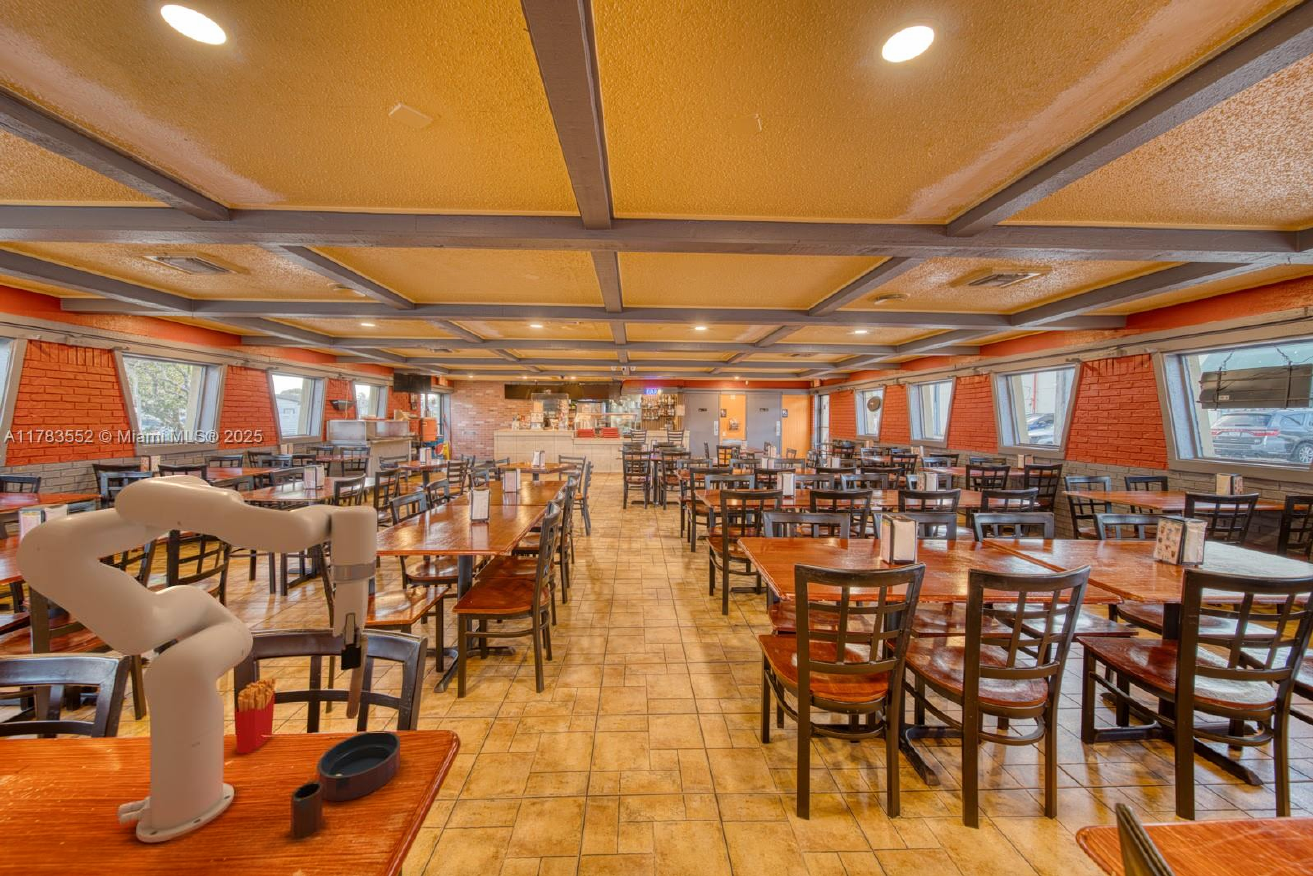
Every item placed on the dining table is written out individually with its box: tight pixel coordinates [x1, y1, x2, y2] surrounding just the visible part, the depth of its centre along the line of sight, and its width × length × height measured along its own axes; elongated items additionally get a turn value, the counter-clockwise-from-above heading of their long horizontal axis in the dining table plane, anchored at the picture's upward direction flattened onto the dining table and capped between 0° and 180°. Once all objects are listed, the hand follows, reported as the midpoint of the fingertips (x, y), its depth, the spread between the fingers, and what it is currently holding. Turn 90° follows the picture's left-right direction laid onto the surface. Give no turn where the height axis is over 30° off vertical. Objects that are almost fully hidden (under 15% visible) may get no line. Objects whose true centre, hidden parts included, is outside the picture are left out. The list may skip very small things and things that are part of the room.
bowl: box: [316, 730, 402, 802], centre depth 95 cm, size 14×14×5 cm
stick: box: [345, 633, 370, 720], centre depth 91 cm, size 2×2×16 cm
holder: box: [290, 780, 324, 839], centre depth 82 cm, size 4×4×7 cm
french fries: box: [233, 677, 277, 755], centre depth 105 cm, size 9×4×13 cm, turn 3°
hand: (351, 664), depth 91 cm, fingers closed on stick, 2 cm apart
